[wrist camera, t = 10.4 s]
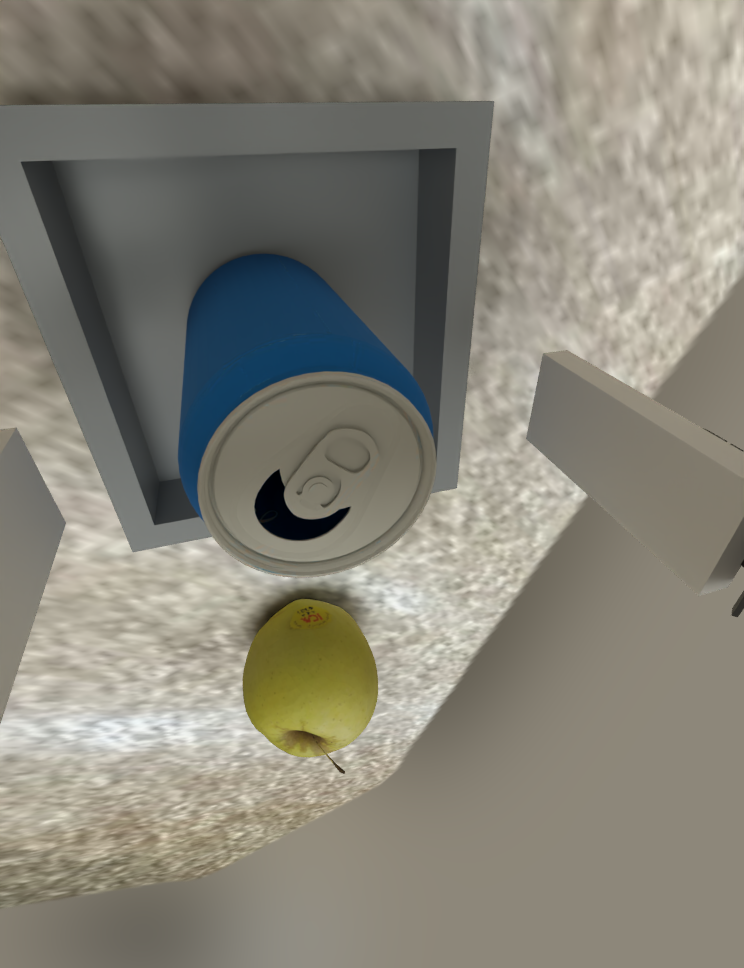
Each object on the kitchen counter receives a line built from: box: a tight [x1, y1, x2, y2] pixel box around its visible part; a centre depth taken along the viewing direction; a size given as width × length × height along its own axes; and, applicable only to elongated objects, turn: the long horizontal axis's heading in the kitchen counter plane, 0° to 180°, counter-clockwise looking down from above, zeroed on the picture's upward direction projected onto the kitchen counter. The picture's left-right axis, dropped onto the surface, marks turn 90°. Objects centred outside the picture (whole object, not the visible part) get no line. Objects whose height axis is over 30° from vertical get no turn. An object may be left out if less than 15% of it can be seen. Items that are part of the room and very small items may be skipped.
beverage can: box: [178, 254, 437, 578], centre depth 16 cm, size 6×6×12 cm
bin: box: [0, 101, 494, 552], centre depth 20 cm, size 15×15×4 cm
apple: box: [243, 599, 378, 774], centre depth 29 cm, size 8×8×10 cm
